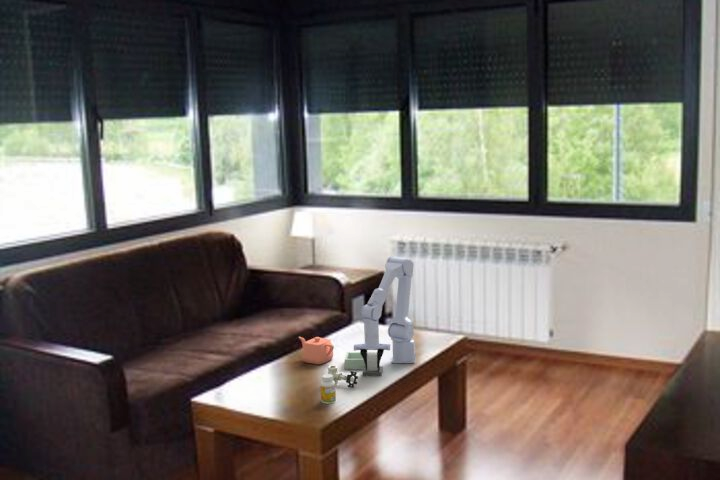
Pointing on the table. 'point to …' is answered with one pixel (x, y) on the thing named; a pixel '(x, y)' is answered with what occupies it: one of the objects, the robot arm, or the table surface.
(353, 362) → the bin
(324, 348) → the teapot
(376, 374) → the socket
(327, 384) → the supplement bottle
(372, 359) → the strut
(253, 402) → the table surface
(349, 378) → the valve
